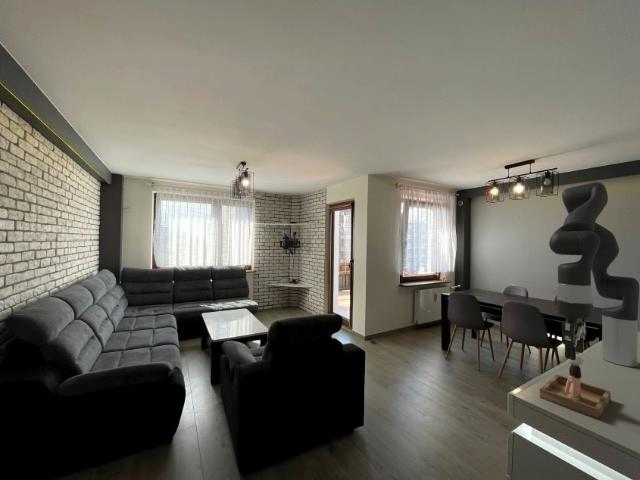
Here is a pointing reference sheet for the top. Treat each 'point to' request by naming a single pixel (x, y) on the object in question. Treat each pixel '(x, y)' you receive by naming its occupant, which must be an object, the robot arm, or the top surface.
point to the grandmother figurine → (574, 379)
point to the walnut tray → (588, 405)
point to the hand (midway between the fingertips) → (574, 355)
